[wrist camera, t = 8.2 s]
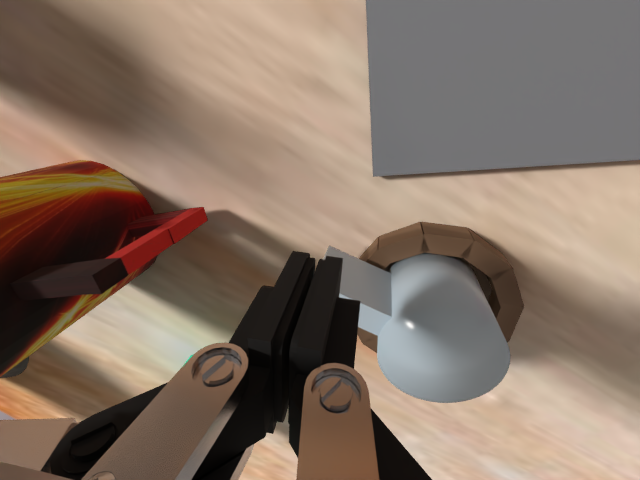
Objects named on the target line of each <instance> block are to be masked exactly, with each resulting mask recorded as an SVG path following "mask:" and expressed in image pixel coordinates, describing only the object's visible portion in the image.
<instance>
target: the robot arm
mask: <svg viewBox="0 0 640 480" xmlns="http://www.w3.org/2000/svg"><path fill="white" fill-rule="evenodd" d="M342 264H343V258H339V257H332V256H326V259H325V260H322V259H320V260H319V262H318V265H317V268H316V271H315V258H310V254H309V253H303V252H296V251H293V252H292V253H291V255H290V257H289V259H288V261H287V263H286V265H285V267H284V269H283V271H282V273H281V275H280V276H279V278H278V280H277V282H276V284H275V286H274V287H270V286H262V287H261V289H260V290H259V292H258V294H257V295H256V297H255V299H254V300H253V302H252V304H251V306H250V307H249V309H248V311H247V312H246V314H245V316H244V317H243V319H242V321H241V323H240V324H239V326H238V328H237V329H236V331H235V333H234V335H233V336H232V338H231V340H230V341H229V343H216V344H212V345H209V346H206V347H204V348H202V349H201V350H199V351H198V352H196V353H195V354H194V355H193V356H192V357H191V358H190V359H189V360H188V361H187V362H186V363H185V365H184V366H183V367H182V368H181V369H180V370H179V371H178V372H177V373H176V375H175V376H174V377H173V378H172V379H171V380H170V381H169V382H168V383H166V384H163V385H161V386H159V387H156V388H154V389H152V390H150V391H147V392H145V393H143V394H140V395H138V396H136V397H133V398H131V399H129V400H127V401H124V402H122V403H120V404H117V405H115V406H113V407H110V408H108V409H106V410H104V411H101V412H99V413H97V414H94V415H92V416H91V417H89V418H87V419H85V420H83V421H81V422H80V423H77V422H76V420H75V418H59V419H24V420H0V480H238V479H239V477H240V475H241V473H242V471H243V469H244V467H245V465H246V463H247V461H248V459H249V457H250V455H251V453H252V450H253V447H254V444H255V443H256V442H258V441H259V440H261V439H263V438H264V437H265V436H266V433H267V432H268V433H272V434H273V432H274V429H275V426H276V423H277V421H278V422H283V421H284V419H285V416H286V412H287V409H288V405H289V416H288V423H289V443H290V445H291V447H292V448H293V450H294V452H295V454H296V455H297V457H298V467H297V479H296V480H432V479H431V478H430V477H429V476H428V474H427V473H426V472H425V471H424V470H423V469H422V467H421V466H420V465H419V464H418V463H417V462H416V460H415V459H414V458H413V457H412V456H411V455H410V453H409V452H408V451H407V450H406V449H405V448H404V446H403V445H402V444H401V443H400V442H399V441H398V439H397V438H396V437H395V436H394V435H393V434H392V432H391V431H390V430H389V429H388V428H387V427H386V425H385V424H384V423H383V422H382V421H381V420H380V419H379V417H378V416H377V415H376V414H375V413H374V412H373V410H372V409H371V408H370V399H369V391H368V388H367V384H366V382H365V380H364V379H363V377H362V376H361V375H360V374H359V373H358V372H357V371H356V370H354V361H355V351H356V342H357V332H358V322H359V312H360V301H359V300H352V299H346V298H340V297H339V293H340V283H341V274H342Z"/></svg>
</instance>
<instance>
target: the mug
mask: <svg viewBox="0 0 640 480" xmlns="http://www.w3.org/2000/svg"><path fill="white" fill-rule="evenodd" d="M206 221H207V216H206V213H205V210H204V207H199V208H190V209H184V210H179V211H173V212H167V213H161V214H155V215H154V212H153V210H152V208H151V207H150V205H149V203H148V202H147V200H146V198H145V197H144V196H143V195H142V193H141V192H140V191H139V190H138V188H137V187H136V186H134V185H133V184H132V183H131V182H130V181H129V180H128V179H127V178H126V177H124V176H123V175H121V174H120V173H119V172H117V171H116V170H114V169H112V168H110V167H108V166H106V165H104V164H100V163H97V162H93V161H85V160H79V161H73V162H68V163H63V164H59V165H54V166H50V167H45V168H40V169H36V170H31V171H27V172H22V173H18V174H13V175H8V176H4V177H0V377H1V376H2V375H4V374H5V373H6V372H8V371H9V370H10V369H12V368H13V367H14V366H16V365H17V364H18V363H20V362H21V361H23V360H24V359H25V358H27V357H28V356H29V355H31V354H32V353H33V352H35V351H36V350H38V349H39V348H40V347H42V346H43V345H44V344H46V343H47V342H48V341H50V340H51V339H53V338H54V337H55V336H57V335H58V334H59V333H61V332H62V331H63V330H65V329H66V328H68V327H69V326H70V325H72V324H73V323H74V322H76V321H77V320H78V319H80V318H81V317H83V316H84V315H85V314H87V313H88V312H89V311H91V310H92V309H93V308H95V307H96V306H98V305H99V304H100V303H102V302H103V301H104V300H106V299H107V298H108V297H110V296H111V295H113V294H114V293H115V292H117V291H118V290H119V289H121V288H122V287H123V286H125V285H126V284H128V283H129V282H130V281H132V280H133V279H134V278H136V277H137V276H138V275H140V274H141V273H143V272H144V271H145V270H147V269H148V268H149V267H150V266H151V265H152V264H153V263H154V262H155V260H156V258H157V256H158V254H159V253H161V252H162V251H164V250H165V249H167V248H168V247H169V246H171V245H172V244H175V243H176V242H178V241H179V240H181V239H182V238H183V237H185V236H186V235H188V234H189V233H191V232H192V231H193V230H195V229H196V228H198V227H199V226H200V225H202V224H203V223H205V222H206Z"/></svg>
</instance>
